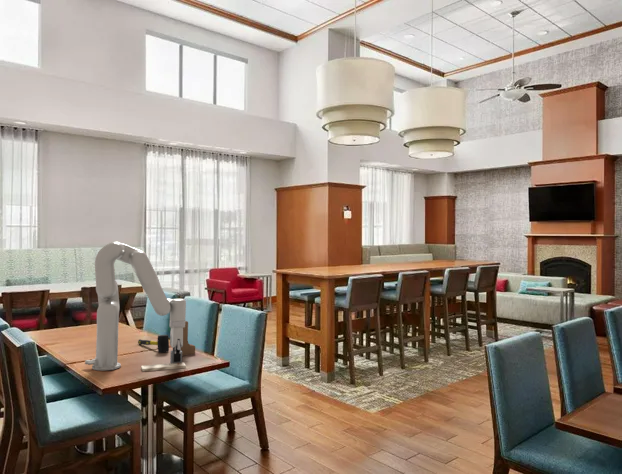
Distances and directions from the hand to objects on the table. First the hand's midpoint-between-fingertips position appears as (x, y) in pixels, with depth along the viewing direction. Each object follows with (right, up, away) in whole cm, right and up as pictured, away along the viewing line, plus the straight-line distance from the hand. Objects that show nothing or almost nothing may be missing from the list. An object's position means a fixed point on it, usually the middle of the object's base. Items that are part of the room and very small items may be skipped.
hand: (176, 360), depth 242 cm
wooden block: (0, -2, +20) cm, 20 cm away
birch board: (-4, -2, -9) cm, 10 cm away
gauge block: (0, -2, 0) cm, 2 cm away
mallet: (-22, -2, +31) cm, 38 cm away
